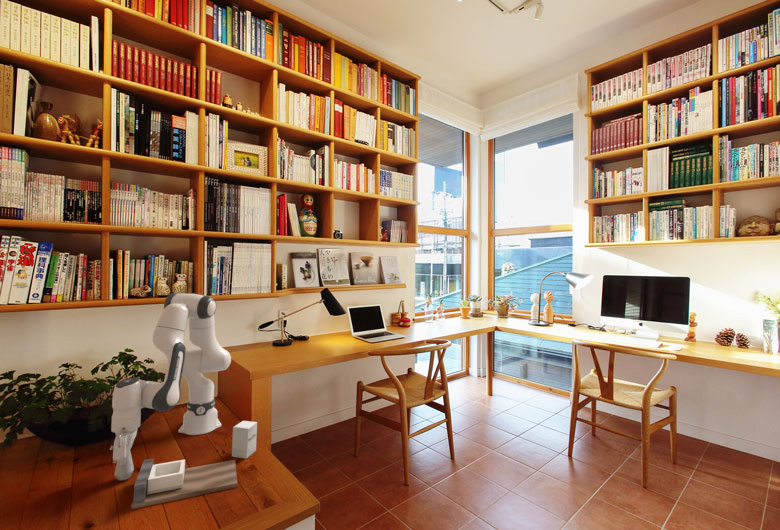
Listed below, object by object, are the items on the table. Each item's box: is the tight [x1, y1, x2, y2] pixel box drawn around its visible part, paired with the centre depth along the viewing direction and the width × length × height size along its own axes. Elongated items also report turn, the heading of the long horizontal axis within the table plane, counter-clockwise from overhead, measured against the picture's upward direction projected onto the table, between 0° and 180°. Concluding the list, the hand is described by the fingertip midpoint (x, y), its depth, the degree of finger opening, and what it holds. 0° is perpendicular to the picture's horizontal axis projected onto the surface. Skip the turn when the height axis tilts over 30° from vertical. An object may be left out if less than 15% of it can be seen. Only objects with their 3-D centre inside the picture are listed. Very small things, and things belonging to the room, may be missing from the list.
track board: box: [130, 457, 238, 510], centre depth 134 cm, size 18×32×8 cm, turn 116°
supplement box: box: [231, 420, 258, 459], centre depth 157 cm, size 7×7×13 cm
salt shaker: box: [114, 442, 135, 481], centre depth 136 cm, size 6×6×13 cm
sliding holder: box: [147, 459, 186, 495], centre depth 131 cm, size 10×10×5 cm
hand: (124, 460), depth 136 cm, fingers closed on salt shaker, 4 cm apart
